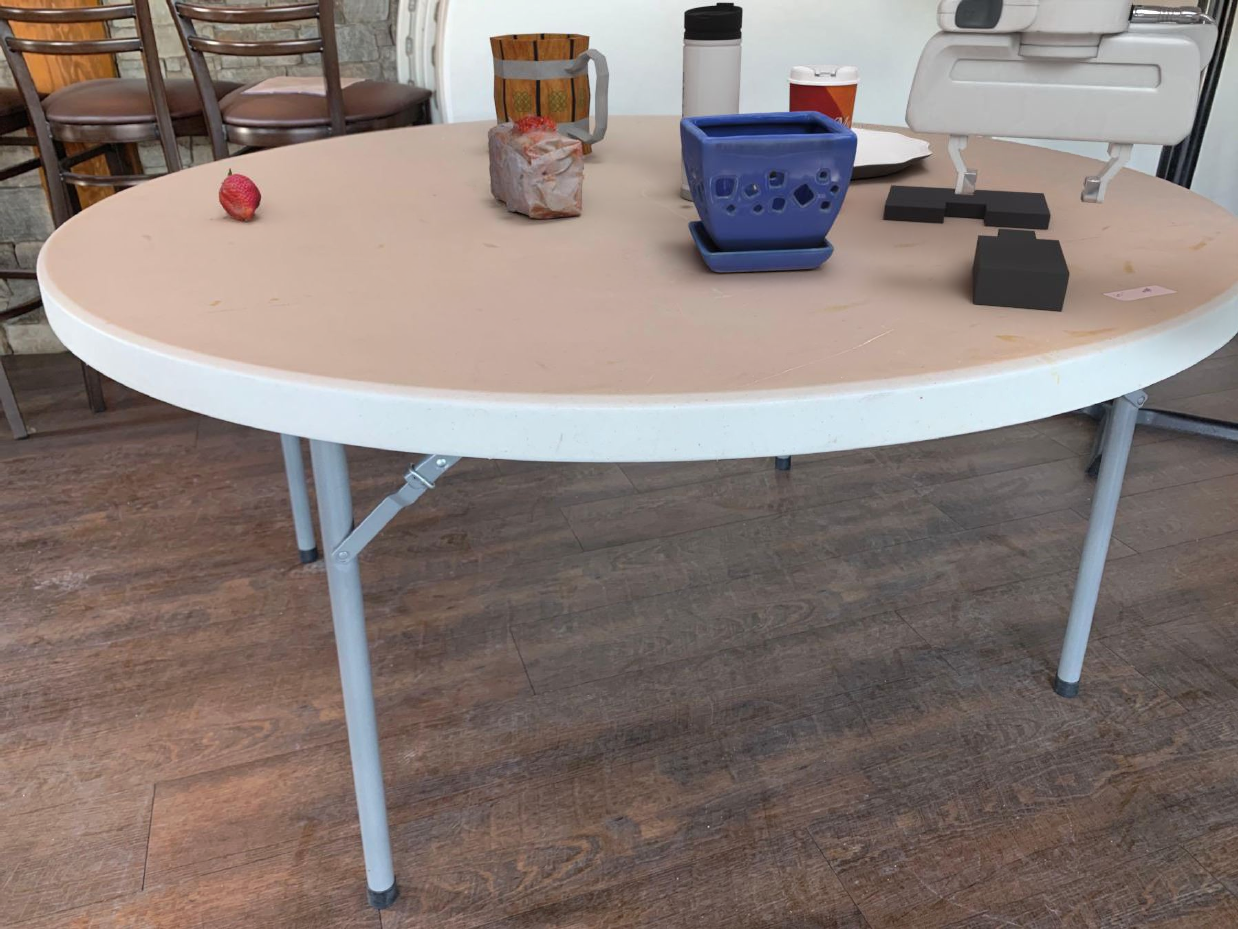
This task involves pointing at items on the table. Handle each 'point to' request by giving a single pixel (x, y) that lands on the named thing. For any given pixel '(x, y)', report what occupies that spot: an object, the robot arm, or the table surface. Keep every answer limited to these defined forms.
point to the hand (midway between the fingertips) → (1026, 197)
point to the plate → (884, 153)
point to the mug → (550, 82)
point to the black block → (1019, 271)
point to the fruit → (239, 196)
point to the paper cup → (824, 90)
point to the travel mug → (710, 65)
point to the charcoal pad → (968, 206)
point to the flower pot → (766, 187)
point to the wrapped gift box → (536, 168)
